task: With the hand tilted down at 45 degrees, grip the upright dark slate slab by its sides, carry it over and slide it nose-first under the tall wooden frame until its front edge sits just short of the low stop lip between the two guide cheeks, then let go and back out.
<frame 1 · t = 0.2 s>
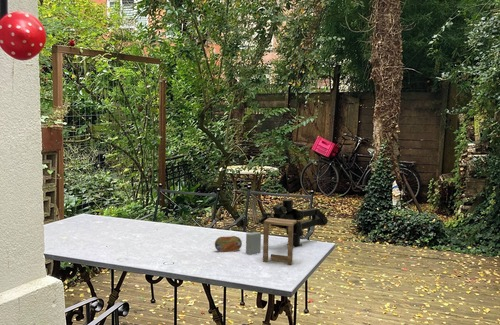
hand: (265, 223, 252), 17 cm above the table, tool horizontal, fingers open, 9 cm apart
wooden frame: (281, 258, 245), on the table
tin: (228, 251, 256), on the table
slab: (253, 253, 253), on the table
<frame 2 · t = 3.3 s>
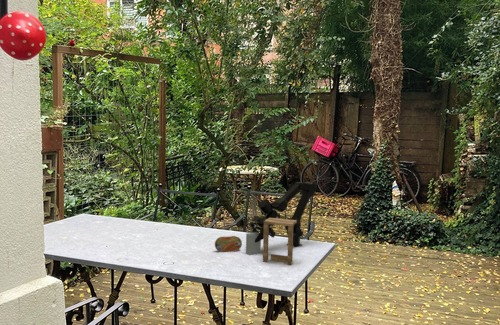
hand: (252, 241, 252), 7 cm above the table, tool tilted 45°, fingers closed on slab, 4 cm apart
slab: (253, 253, 253), on the table, touching gripper
everything else where it was.
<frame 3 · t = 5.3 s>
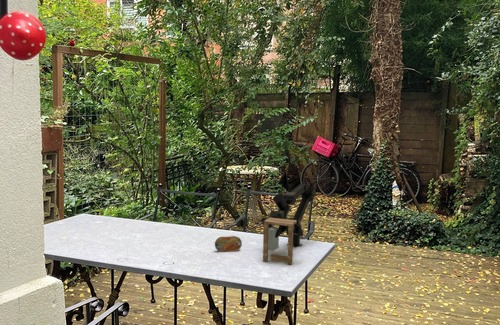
hand: (272, 236, 248), 10 cm above the table, tool tilted 45°, fingers closed on slab, 4 cm apart
slab: (272, 248, 249), point 4 cm above the table, touching gripper
everything else where it was.
when the fingers open (8 cm above the table, at t = 7.5 s): slab drops 1 cm, on the table.
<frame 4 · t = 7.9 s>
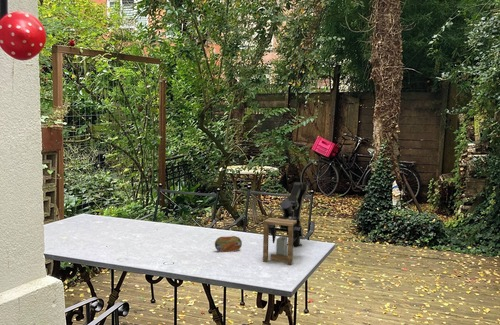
hand: (281, 243, 243), 8 cm above the table, tool tilted 45°, fingers open, 9 cm apart
slab: (281, 258, 244), on the table
everything else where it was.
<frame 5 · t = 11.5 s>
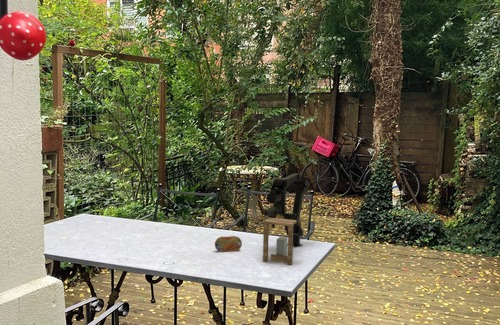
hand: (279, 229, 255), 13 cm above the table, tool pointing down, fingers open, 9 cm apart
nothing on the table moved.
at the end: slab 0.9 cm from the wooden frame (horizontally); slab tilted 0°; slab on the table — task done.
